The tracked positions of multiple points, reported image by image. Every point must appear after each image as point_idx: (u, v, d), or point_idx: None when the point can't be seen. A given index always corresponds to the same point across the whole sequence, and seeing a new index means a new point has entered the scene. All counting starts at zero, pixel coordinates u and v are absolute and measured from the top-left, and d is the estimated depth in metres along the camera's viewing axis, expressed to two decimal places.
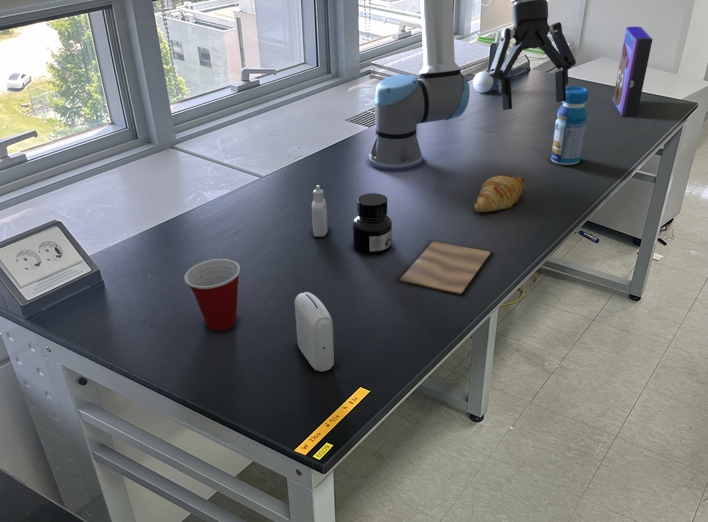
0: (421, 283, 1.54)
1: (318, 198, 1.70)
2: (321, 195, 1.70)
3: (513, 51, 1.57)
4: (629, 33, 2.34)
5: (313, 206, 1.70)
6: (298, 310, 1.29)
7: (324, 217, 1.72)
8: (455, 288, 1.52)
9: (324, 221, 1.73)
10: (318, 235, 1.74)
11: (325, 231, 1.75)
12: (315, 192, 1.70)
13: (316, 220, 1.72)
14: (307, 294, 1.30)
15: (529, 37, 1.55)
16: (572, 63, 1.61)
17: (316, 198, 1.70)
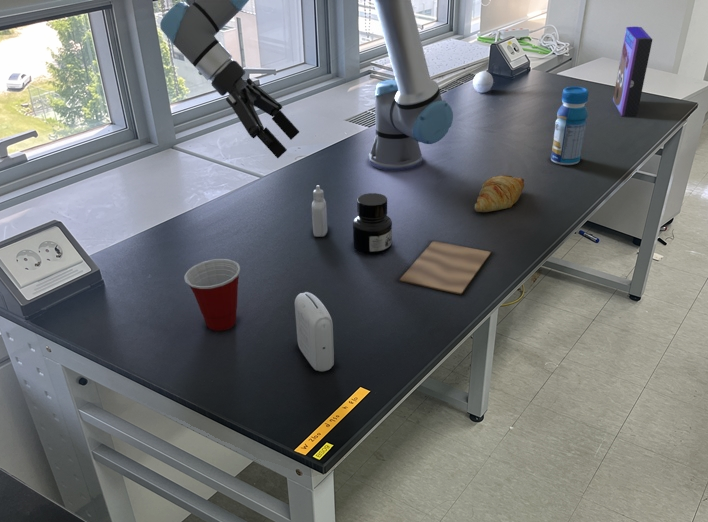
0: (421, 283, 1.54)
1: (318, 198, 1.70)
2: (321, 195, 1.70)
3: None
4: (629, 33, 2.34)
5: (313, 206, 1.70)
6: (298, 310, 1.29)
7: (324, 217, 1.72)
8: (455, 288, 1.52)
9: (324, 221, 1.73)
10: (318, 235, 1.74)
11: (325, 231, 1.75)
12: (315, 192, 1.70)
13: (316, 220, 1.72)
14: (307, 294, 1.30)
15: None
16: None
17: (316, 198, 1.70)
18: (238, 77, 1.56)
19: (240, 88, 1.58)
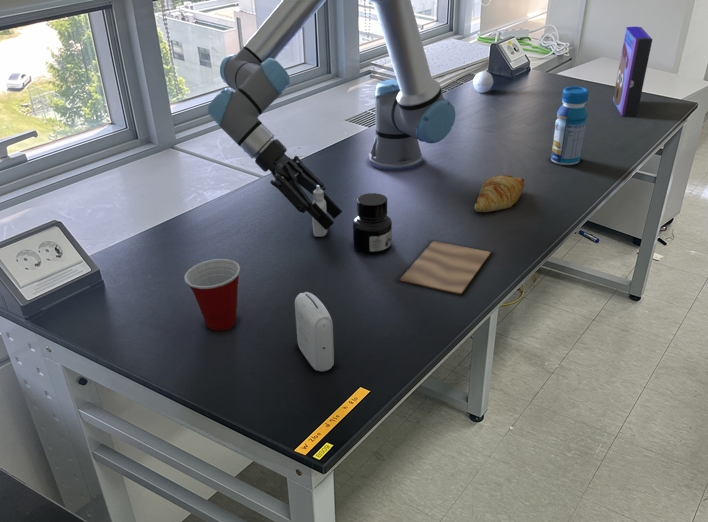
0: (421, 283, 1.54)
1: (318, 198, 1.70)
2: (321, 195, 1.70)
3: None
4: (629, 33, 2.34)
5: None
6: (298, 310, 1.29)
7: None
8: (455, 288, 1.52)
9: None
10: (318, 235, 1.74)
11: (325, 231, 1.75)
12: (315, 192, 1.70)
13: None
14: (307, 294, 1.30)
15: None
16: None
17: (316, 198, 1.70)
18: (278, 156, 1.66)
19: (281, 166, 1.67)
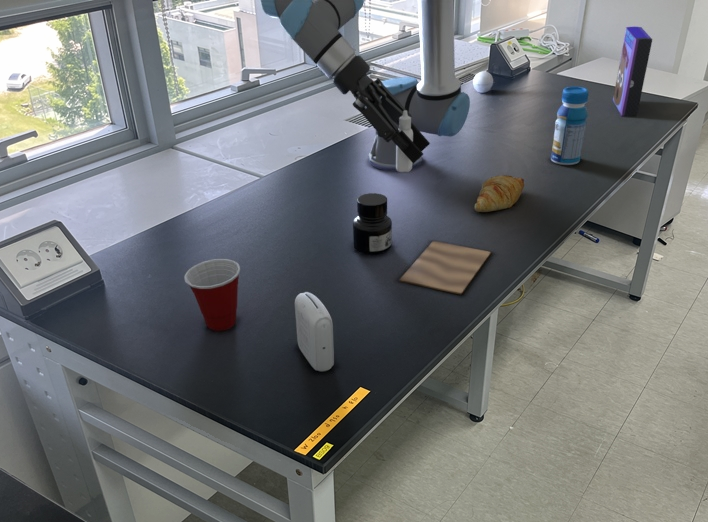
0: (421, 283, 1.54)
1: (405, 125, 1.47)
2: (408, 122, 1.47)
3: None
4: (629, 33, 2.34)
5: None
6: (298, 310, 1.29)
7: None
8: (455, 288, 1.52)
9: None
10: (403, 170, 1.51)
11: (410, 166, 1.51)
12: (402, 118, 1.46)
13: (402, 152, 1.48)
14: (307, 294, 1.30)
15: None
16: None
17: (403, 126, 1.47)
18: (362, 74, 1.42)
19: (364, 86, 1.44)
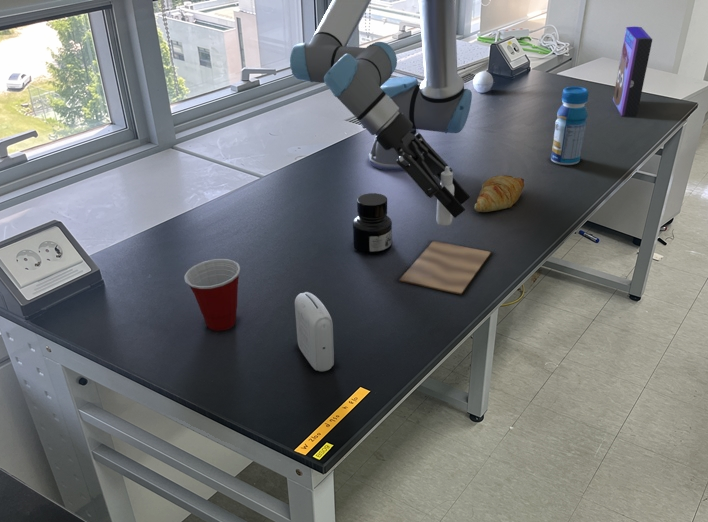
0: (421, 283, 1.54)
1: (447, 181, 1.48)
2: (451, 178, 1.48)
3: None
4: (629, 33, 2.34)
5: None
6: (298, 310, 1.29)
7: None
8: (455, 288, 1.52)
9: None
10: (444, 224, 1.52)
11: (451, 219, 1.53)
12: (444, 174, 1.48)
13: (443, 206, 1.50)
14: (307, 294, 1.30)
15: None
16: None
17: (445, 181, 1.48)
18: (405, 132, 1.43)
19: (407, 143, 1.45)
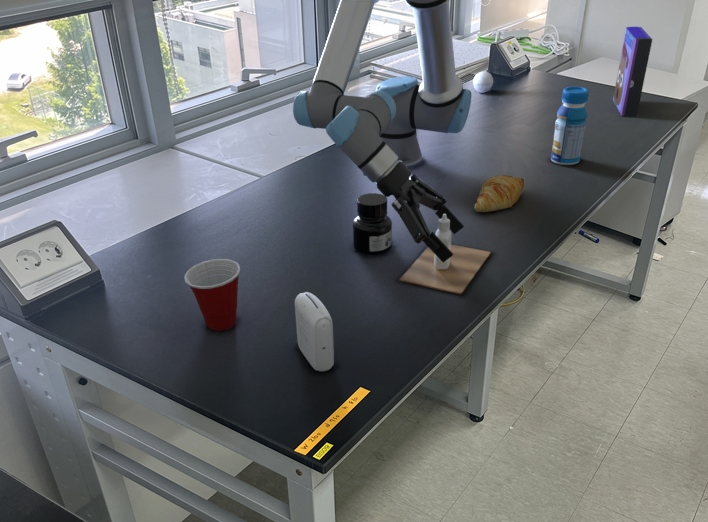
0: (421, 283, 1.54)
1: (444, 228, 1.54)
2: (448, 225, 1.54)
3: None
4: (629, 33, 2.34)
5: (439, 237, 1.54)
6: (298, 310, 1.29)
7: (449, 248, 1.56)
8: (455, 288, 1.52)
9: None
10: (441, 268, 1.58)
11: (448, 263, 1.59)
12: (441, 221, 1.54)
13: None
14: (307, 294, 1.30)
15: None
16: None
17: (442, 228, 1.54)
18: (404, 180, 1.49)
19: (406, 190, 1.51)
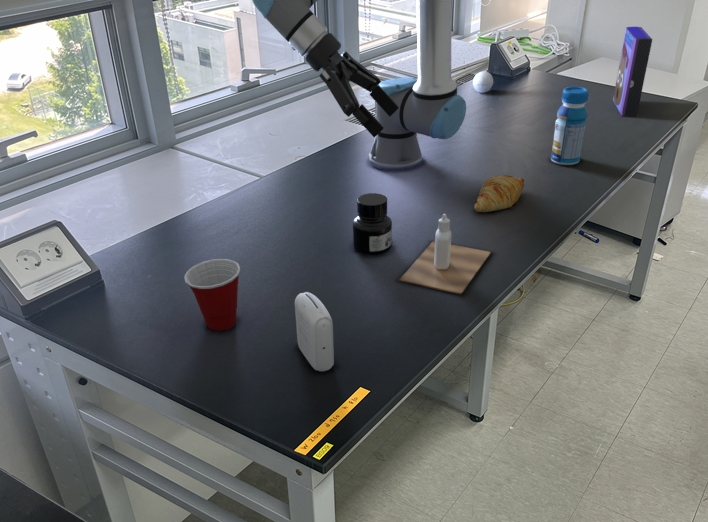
0: (421, 283, 1.54)
1: (444, 228, 1.54)
2: (448, 225, 1.54)
3: None
4: (629, 33, 2.34)
5: (439, 237, 1.54)
6: (298, 310, 1.29)
7: (449, 248, 1.56)
8: (455, 288, 1.52)
9: (449, 253, 1.57)
10: (441, 268, 1.58)
11: (448, 263, 1.59)
12: (441, 221, 1.54)
13: (441, 252, 1.56)
14: (307, 294, 1.30)
15: None
16: None
17: (442, 228, 1.54)
18: (333, 51, 1.46)
19: (335, 63, 1.48)
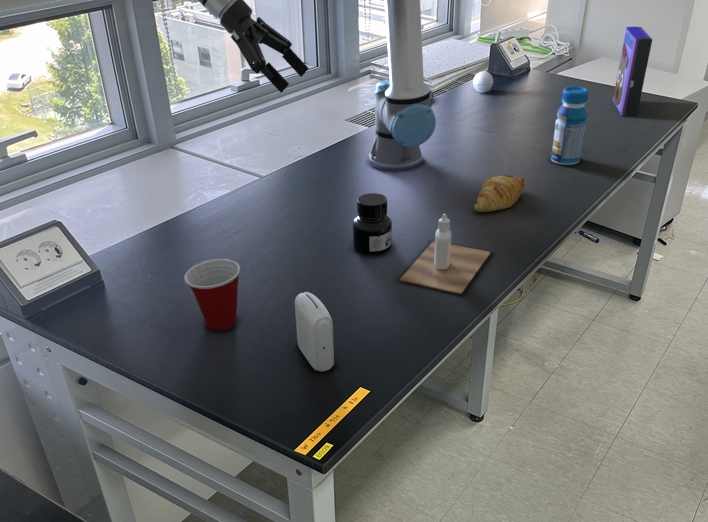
0: (421, 283, 1.54)
1: (444, 228, 1.54)
2: (448, 225, 1.54)
3: None
4: (629, 33, 2.34)
5: (439, 237, 1.54)
6: (298, 310, 1.29)
7: (449, 248, 1.56)
8: (455, 288, 1.52)
9: (449, 253, 1.57)
10: (441, 268, 1.58)
11: (448, 263, 1.59)
12: (441, 221, 1.54)
13: (441, 252, 1.56)
14: (307, 294, 1.30)
15: None
16: None
17: (442, 228, 1.54)
18: (243, 15, 1.64)
19: (246, 26, 1.66)
